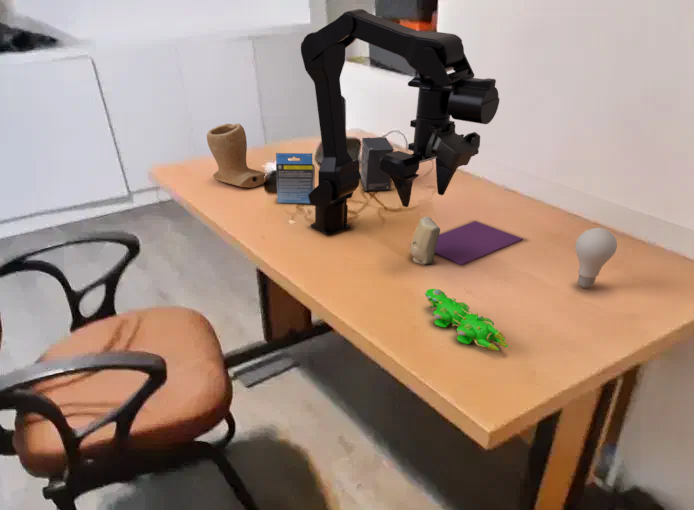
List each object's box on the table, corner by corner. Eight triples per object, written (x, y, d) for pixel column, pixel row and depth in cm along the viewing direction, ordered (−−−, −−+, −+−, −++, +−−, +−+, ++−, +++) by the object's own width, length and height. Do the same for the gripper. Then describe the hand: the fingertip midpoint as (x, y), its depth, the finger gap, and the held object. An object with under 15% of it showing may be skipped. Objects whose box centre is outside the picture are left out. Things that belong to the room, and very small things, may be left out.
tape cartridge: (315, 198, 153) (315, 148, 147) (313, 204, 150) (313, 153, 143) (279, 197, 156) (278, 148, 149) (276, 203, 152) (275, 153, 146)
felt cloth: (461, 265, 120) (461, 264, 119) (415, 245, 128) (415, 243, 128) (522, 239, 127) (522, 238, 127) (475, 222, 136) (475, 221, 136)
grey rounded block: (444, 259, 122) (449, 221, 118) (428, 268, 119) (433, 229, 115) (419, 251, 126) (423, 213, 121) (403, 260, 123) (407, 222, 119)
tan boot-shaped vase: (202, 182, 169) (196, 125, 160) (236, 171, 175) (232, 116, 166) (237, 195, 158) (233, 136, 150) (272, 183, 164) (270, 125, 156)
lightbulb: (571, 276, 113) (585, 219, 107) (608, 285, 110) (625, 226, 104) (560, 290, 110) (575, 231, 104) (598, 299, 106) (616, 240, 100)
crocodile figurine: (441, 300, 109) (444, 278, 107) (518, 351, 95) (524, 327, 93) (410, 309, 107) (412, 287, 105) (484, 363, 93) (488, 339, 91)
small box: (391, 190, 155) (394, 148, 149) (365, 192, 155) (367, 149, 149) (384, 176, 163) (387, 135, 157) (359, 177, 164) (361, 137, 158)
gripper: (429, 135, 99) (418, 226, 108) (507, 113, 107) (492, 200, 116) (380, 122, 108) (374, 208, 116) (456, 102, 115) (446, 184, 124)
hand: (423, 200), depth 118 cm, fingers open, 9 cm apart
